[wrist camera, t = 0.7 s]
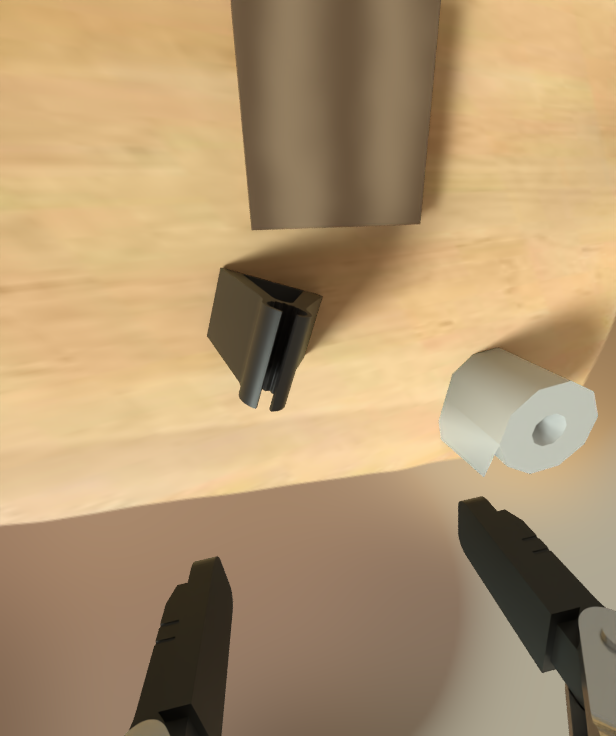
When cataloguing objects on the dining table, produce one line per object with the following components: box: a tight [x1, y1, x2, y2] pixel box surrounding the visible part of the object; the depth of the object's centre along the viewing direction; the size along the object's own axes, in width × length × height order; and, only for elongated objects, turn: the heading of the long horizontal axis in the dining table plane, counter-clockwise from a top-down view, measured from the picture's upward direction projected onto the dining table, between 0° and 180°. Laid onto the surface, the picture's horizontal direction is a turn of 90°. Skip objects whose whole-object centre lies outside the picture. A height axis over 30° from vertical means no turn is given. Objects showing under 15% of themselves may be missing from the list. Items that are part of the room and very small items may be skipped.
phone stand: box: [207, 268, 323, 411], centre depth 24 cm, size 9×6×12 cm, turn 72°
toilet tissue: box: [439, 348, 598, 477], centre depth 34 cm, size 9×13×9 cm
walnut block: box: [231, 0, 441, 230], centre depth 24 cm, size 13×13×3 cm
